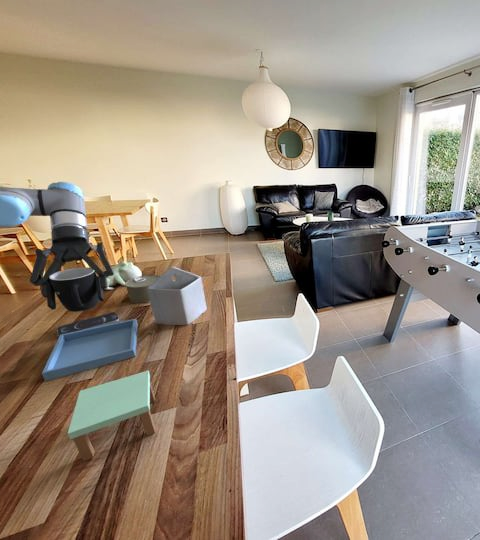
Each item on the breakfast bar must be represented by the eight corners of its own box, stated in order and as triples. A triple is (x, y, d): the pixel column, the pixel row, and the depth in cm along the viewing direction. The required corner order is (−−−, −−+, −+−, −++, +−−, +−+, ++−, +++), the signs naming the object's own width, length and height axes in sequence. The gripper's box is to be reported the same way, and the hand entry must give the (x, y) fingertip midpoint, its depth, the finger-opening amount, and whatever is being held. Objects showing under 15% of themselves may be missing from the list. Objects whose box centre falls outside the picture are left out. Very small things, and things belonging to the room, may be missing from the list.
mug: (62, 304, 81) (50, 271, 78) (104, 296, 87) (94, 265, 83) (58, 323, 73) (45, 287, 69) (104, 313, 78) (94, 279, 75)
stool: (81, 463, 55) (67, 433, 52) (91, 418, 64) (79, 390, 61) (156, 433, 61) (148, 405, 58) (156, 396, 70) (148, 370, 67)
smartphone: (119, 319, 99) (58, 336, 88) (119, 321, 99) (59, 339, 89) (114, 311, 104) (56, 326, 93) (115, 313, 104) (57, 329, 93)
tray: (45, 381, 73) (41, 373, 72) (63, 341, 88) (60, 334, 87) (135, 356, 83) (133, 349, 82) (137, 324, 98) (135, 318, 97)
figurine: (145, 282, 128) (139, 262, 124) (96, 293, 117) (89, 270, 114) (141, 275, 135) (135, 255, 131) (95, 285, 124) (87, 263, 120)
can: (140, 305, 110) (136, 289, 107) (122, 298, 114) (118, 282, 112) (171, 293, 120) (168, 278, 117) (154, 287, 124) (150, 272, 122)
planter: (159, 333, 94) (145, 279, 87) (155, 323, 99) (142, 271, 92) (212, 317, 104) (204, 268, 97) (206, 309, 109) (197, 261, 102)
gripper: (121, 234, 91) (131, 298, 85) (21, 242, 79) (25, 317, 73) (115, 221, 85) (125, 289, 79) (7, 227, 73) (9, 308, 67)
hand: (77, 303), depth 76 cm, fingers closed on mug, 9 cm apart
